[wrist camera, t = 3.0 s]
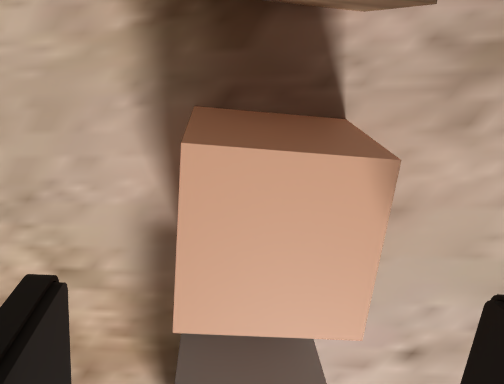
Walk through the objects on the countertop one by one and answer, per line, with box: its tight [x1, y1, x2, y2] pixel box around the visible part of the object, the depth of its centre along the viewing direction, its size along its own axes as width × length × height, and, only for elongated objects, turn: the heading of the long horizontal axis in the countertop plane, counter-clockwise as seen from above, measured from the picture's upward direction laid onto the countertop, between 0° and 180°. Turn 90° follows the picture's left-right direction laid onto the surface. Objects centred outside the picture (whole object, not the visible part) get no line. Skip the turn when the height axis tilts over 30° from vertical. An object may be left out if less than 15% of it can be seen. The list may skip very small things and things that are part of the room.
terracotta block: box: [173, 106, 401, 341], centre depth 16 cm, size 6×6×6 cm
